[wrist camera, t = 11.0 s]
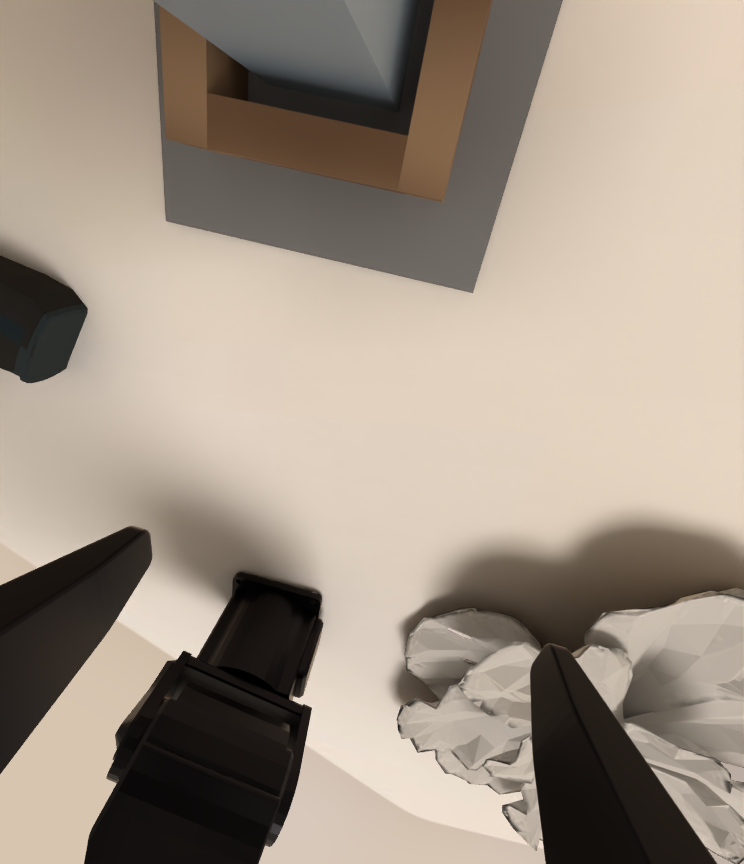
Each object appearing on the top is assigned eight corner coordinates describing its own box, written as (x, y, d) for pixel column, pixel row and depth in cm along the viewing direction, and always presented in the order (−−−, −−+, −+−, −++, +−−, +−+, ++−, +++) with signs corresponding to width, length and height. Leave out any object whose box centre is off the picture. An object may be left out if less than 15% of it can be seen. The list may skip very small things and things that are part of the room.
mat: (472, 291, 18) (472, 292, 17) (171, 220, 18) (166, 221, 18) (679, -384, 10) (687, -406, 9) (138, -458, 11) (127, -481, 10)
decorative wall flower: (362, 840, 32) (440, 589, 17) (376, 742, 38) (443, 492, 23) (768, 957, 29) (1271, 777, 15) (714, 831, 35) (1032, 613, 21)
